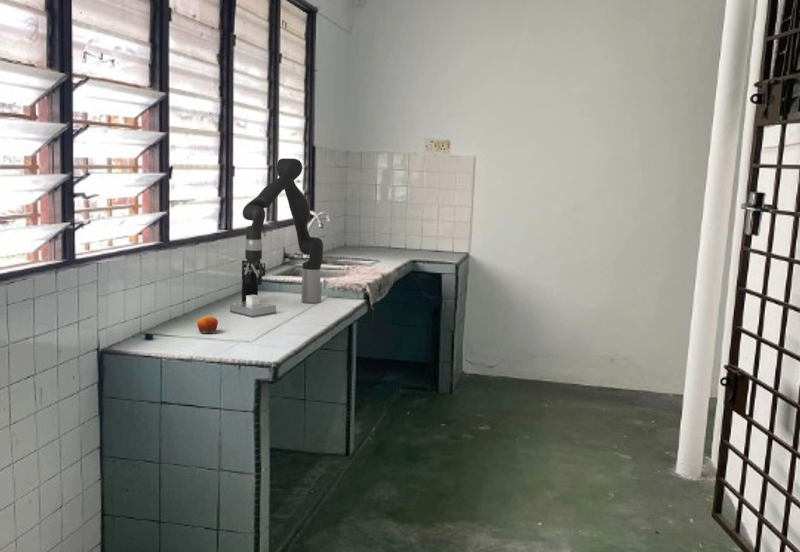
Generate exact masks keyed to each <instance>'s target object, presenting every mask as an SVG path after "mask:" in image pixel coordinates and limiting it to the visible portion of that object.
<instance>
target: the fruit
mask: <svg viewBox="0 0 800 552" xmlns="http://www.w3.org/2000/svg"><path fill="white" fill-rule="evenodd" d="M196 322H197V323H196V324H197V328H198V332H199V333H200V334H204V335H205V334H208V333H209V334H210V333H211V334H215V331H216V330H217V328H218V323H219V321H218V319H217V318H216V317H214V316H212V315H211V316H209V315H205V316H202V317H201V318H199V319H198V320H197V321H196Z"/></svg>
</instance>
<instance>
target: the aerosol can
mask: <svg viewBox="0 0 800 552" xmlns="http://www.w3.org/2000/svg"><path fill="white" fill-rule="evenodd" d="M249 275H250V283H246V282H245V274H244V273H242V272H241V302H245V301H246V296H247V295H258V294H259V285H257V275H256V273H254V271H251V273H250V274H249ZM258 296H259V295H258Z"/></svg>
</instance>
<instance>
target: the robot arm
mask: <svg viewBox="0 0 800 552" xmlns="http://www.w3.org/2000/svg"><path fill="white" fill-rule="evenodd" d="M276 170H277V171H276V172H277V174H278V178H276V179H275V180H273V181H272V182H270V183H268V184H267V185H266V186H265V187H264V188H263V189H262V190H261V192H259V194H258V195H257V196H256V197H255V198H253V199H252V200H250V201H249V202H248V203H247V204H245V206H244V207H243V210H242V217H243V218H244V219H245V220H247V221H251V222H252V224H251V225H248V226H247V227H246V229H245V242H244V243H245V244H244V252H245V253H244V258H245V259H243V260H241V274H242V273H244V274H245V282H246V283H250V275H249V274H250V273H251V271H254V273H256V275H257V285H258V286H261V285H262V283H263V281H262V279H263V277H265V276H266V263H265V262H261V260H262V258H263V243H262V229H263V226H264V223H265V219H266V211H265V209H268V208H269V207H270V206H271V205H272V204H273V202H274V201H275V200H276V199H277V197H278V196H279V195H280V194H281V193H282V192H283V191H284V193H285V197H286V199H287V202H288V205H289V210H290V214H291V217H292V221H293V224H294V227H295V231H296V235H297V236H296V237H297V242H298V246H299V247H298V248H299V250H300V252H301V254H303V255H307V256H309V258H308V260H307V261H304V262H302V271H301V272H302V273H301V274H302V275H301V303H304V304H318V303H321V302H322V287H323V286H322V284H323V283H322V282H321V268H322V267H321V266H322V264H323V255H324V244H323V243H324V242H323V240H322V239H321V238H320V237H315V236H311V235H310V233H309V232H310V231H309V228H308V223H309V220H310V217H311V210H310V209H311V208H310V206H309V202H308V199H307V198H306V196H305V195H304V193H303V192H302V191H301V190H300V189H299V187H298V186H297V185H296V182H295V180H296V179H298V177H300V176H301V174H302V171H303V165H302V162H301V160H299V159H298V158H284V157H283V158H280V159H279V160H277V162H276ZM320 301H321V302H320Z"/></svg>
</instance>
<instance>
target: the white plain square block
mask: <svg viewBox="0 0 800 552" xmlns="http://www.w3.org/2000/svg"><path fill="white" fill-rule="evenodd" d="M260 302H261V296H260V295H247V296H246V305H249V306H257V305H260Z"/></svg>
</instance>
